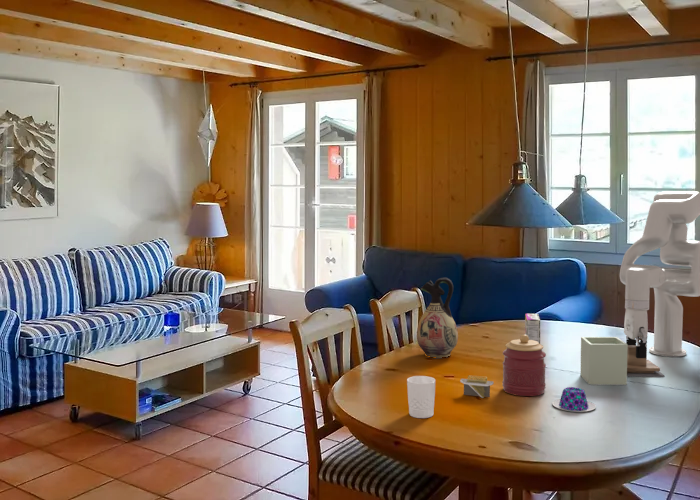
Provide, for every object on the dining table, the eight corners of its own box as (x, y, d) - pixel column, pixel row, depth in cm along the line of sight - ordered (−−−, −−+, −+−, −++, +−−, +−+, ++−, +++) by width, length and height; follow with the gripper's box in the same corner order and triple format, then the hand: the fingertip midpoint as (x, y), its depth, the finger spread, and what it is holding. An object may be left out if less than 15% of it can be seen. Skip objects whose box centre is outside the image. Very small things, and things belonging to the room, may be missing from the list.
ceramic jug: (411, 359, 255) (410, 278, 252) (423, 349, 269) (422, 273, 267) (456, 363, 249) (456, 280, 246) (466, 353, 263) (466, 274, 260)
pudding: (562, 415, 192) (562, 396, 192) (545, 402, 204) (545, 384, 204) (603, 413, 194) (603, 394, 193) (584, 399, 206) (584, 382, 205)
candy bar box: (524, 357, 256) (524, 313, 254) (538, 357, 255) (538, 313, 253) (525, 364, 245) (526, 319, 243) (540, 365, 244) (541, 319, 242)
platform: (502, 407, 201) (503, 384, 200) (442, 400, 207) (442, 379, 207) (509, 395, 212) (509, 374, 211) (451, 389, 218) (451, 369, 218)
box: (580, 375, 230) (581, 337, 229) (616, 375, 230) (616, 336, 228) (589, 384, 220) (589, 344, 219) (626, 384, 219) (627, 344, 218)
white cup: (405, 410, 198) (404, 376, 197) (432, 409, 198) (432, 375, 197) (409, 419, 190) (409, 384, 189) (438, 418, 191) (438, 383, 190)
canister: (521, 399, 206) (522, 341, 204) (493, 388, 217) (494, 333, 216) (554, 393, 212) (555, 336, 210) (525, 382, 223) (526, 328, 222)
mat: (608, 365, 242) (608, 364, 242) (649, 365, 241) (649, 364, 241) (621, 376, 228) (621, 375, 228) (664, 376, 227) (664, 375, 227)
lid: (612, 365, 241) (613, 342, 240) (648, 365, 240) (648, 342, 239) (622, 374, 230) (623, 350, 229) (659, 374, 229) (660, 350, 228)
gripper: (617, 300, 241) (616, 348, 243) (634, 309, 224) (633, 360, 226) (639, 300, 241) (638, 348, 243) (658, 309, 224) (656, 361, 225)
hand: (635, 354), depth 234 cm, fingers open, 9 cm apart
